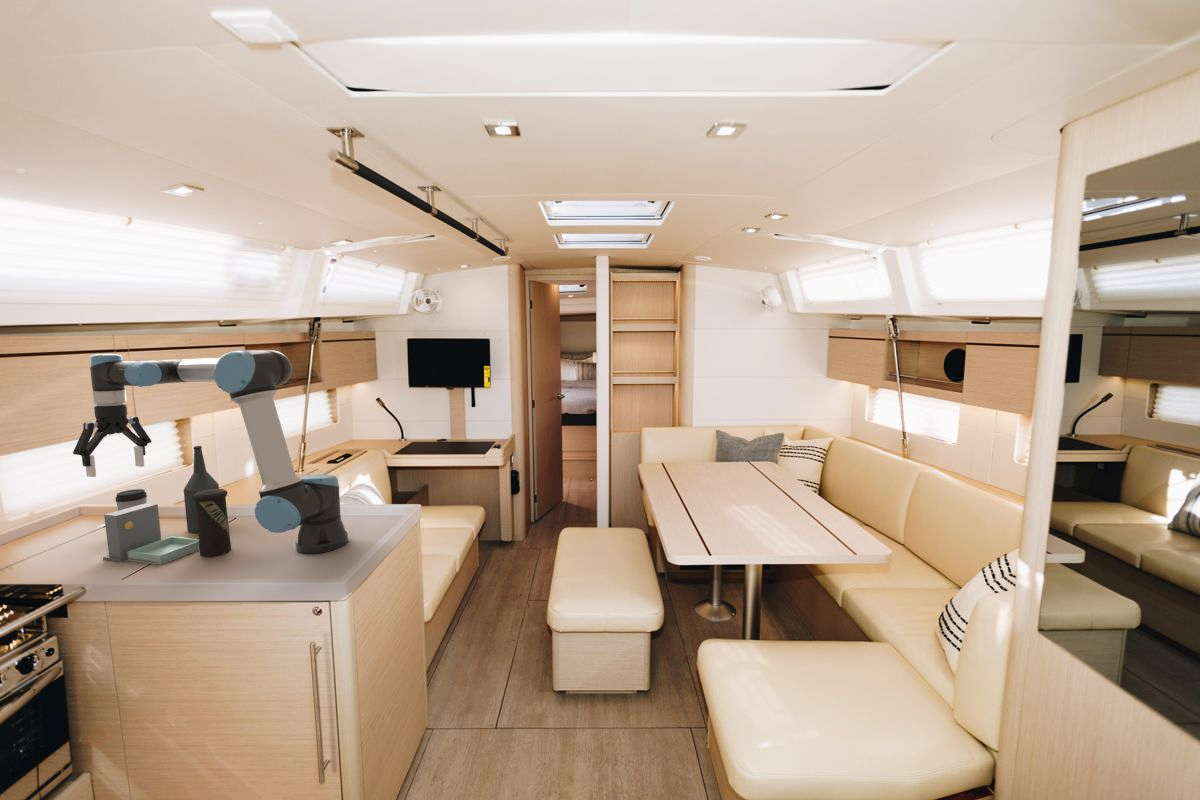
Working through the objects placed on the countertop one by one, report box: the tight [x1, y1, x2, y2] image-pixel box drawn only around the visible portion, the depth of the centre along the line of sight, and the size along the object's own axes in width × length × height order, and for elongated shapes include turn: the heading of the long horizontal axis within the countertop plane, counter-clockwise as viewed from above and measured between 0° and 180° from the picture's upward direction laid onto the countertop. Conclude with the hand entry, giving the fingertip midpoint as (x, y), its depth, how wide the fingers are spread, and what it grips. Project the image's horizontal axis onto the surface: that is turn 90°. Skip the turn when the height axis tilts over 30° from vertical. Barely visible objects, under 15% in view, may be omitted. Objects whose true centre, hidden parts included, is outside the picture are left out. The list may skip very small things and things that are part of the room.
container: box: [192, 488, 232, 557], centre depth 169 cm, size 9×9×20 cm
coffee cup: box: [114, 488, 148, 511], centre depth 186 cm, size 8×8×15 cm
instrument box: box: [102, 502, 162, 562], centre depth 170 cm, size 7×14×14 cm, turn 165°
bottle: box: [183, 445, 220, 534], centre depth 190 cm, size 10×10×30 cm
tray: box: [127, 535, 199, 566], centre depth 169 cm, size 13×13×3 cm
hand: (116, 471), depth 169 cm, fingers open, 13 cm apart
